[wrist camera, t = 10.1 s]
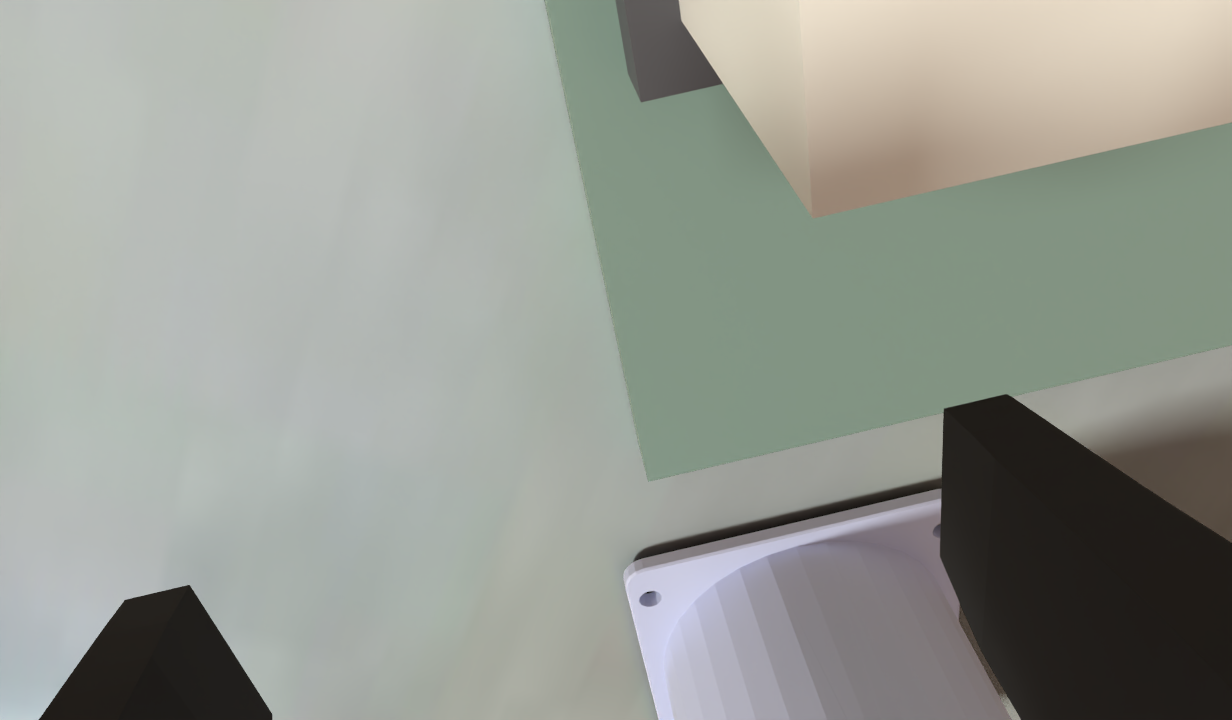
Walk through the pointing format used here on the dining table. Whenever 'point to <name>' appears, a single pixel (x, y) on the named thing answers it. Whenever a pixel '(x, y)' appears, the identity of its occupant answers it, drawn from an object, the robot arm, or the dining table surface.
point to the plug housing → (959, 84)
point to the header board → (862, 261)
